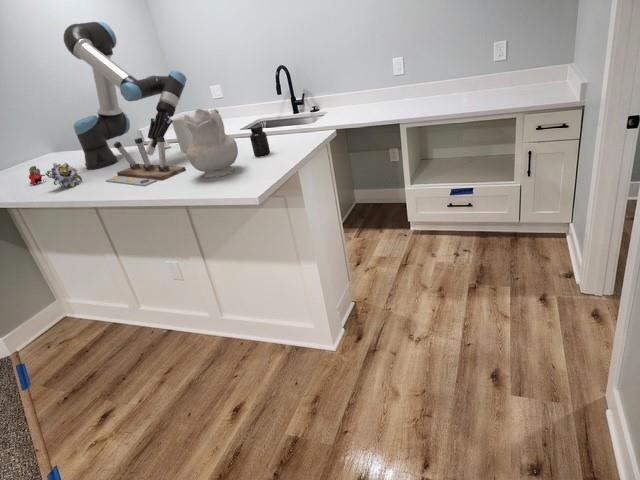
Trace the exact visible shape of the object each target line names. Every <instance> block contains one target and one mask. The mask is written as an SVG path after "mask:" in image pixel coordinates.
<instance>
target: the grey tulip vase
mask: <svg viewBox="0 0 640 480" xmlns="http://www.w3.org/2000/svg"><path fill="white" fill-rule="evenodd" d="M183 116H184V118H183V119H184V123H185V125H186V127H187V128H188V129H189V130H190V132H191V134H192V138H193V139H192V143H191V144H190V145H189V147H188V149H187V151H186V152H185V153H186V156H187V159H188V162H189V163H190V165H191V166H192V167H193V168H194V169H196V170H197V171H199V172H203V173H204V178H205V179H211V178H212V179H214V178H219V177H220V178H221V177H223V176H227V175H229V174H231V173H230V172H232V173H233V172H234V170H233V169H234V167H232V165H233V164H234V163H235V162H236V160H237V157H238V154H239V149H238V145H237V141H236V140H235V138H233V137H232V136H229V135H228V134H226V132H225V124H224V121H223V118H222V117H221V115H220V112H219V110H218V109H211V110H210V111H209V110H208V109H202V108H201V109H200V108H198V109H196V110H195V111H194V114H193V116H190V115H189V114H188V115H187V114H184V115H183Z"/></svg>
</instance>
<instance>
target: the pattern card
mask: <svg viewBox="0 0 640 480" xmlns="http://www.w3.org/2000/svg"><path fill="white" fill-rule="evenodd" d="M157 181H158V180H154V179H144V178H134V177H125V176H118V175H116V176H113V177H110V178H108V179H105V182H108V183H117V184H125V185H132V186H139V187H147V186H149V185H151V184H154V183H155V182H157Z"/></svg>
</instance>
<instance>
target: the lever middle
mask: <svg viewBox="0 0 640 480" xmlns="http://www.w3.org/2000/svg"><path fill="white" fill-rule="evenodd" d="M134 142H135V143H134V144H135V145H136V146H137V149H138V151H139V153H140V157H141V159H142V162H143V164H145V168H146V169H149V167H148V166H149V165H152V163H151V160H150V159H149V156H148V155H149V154H147V153H146V148H145V145H144V140H143V138H142V137H138V138H135V139H134Z"/></svg>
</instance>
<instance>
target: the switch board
mask: <svg viewBox="0 0 640 480" xmlns="http://www.w3.org/2000/svg"><path fill="white" fill-rule="evenodd" d="M128 164H129V163H128ZM134 166H135V168H132V167H131V165H130V164H129V167H127V168H125V169H123V170H120V171H117V172H116V174H117V175H116V176H125V177H134V178H144V179H154V180H157V181H164V180H168V179H169V178H171V177H173V176H176V175H178V174H180V173H183V172H185V171H186V167H185V166H176V165H167V164H166V166H164V167H163V168H164V170H160V164H152V163H151V165H149V166H148V167H149V169H146V168H145V164H144V163H136V164H135V165H134Z"/></svg>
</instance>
